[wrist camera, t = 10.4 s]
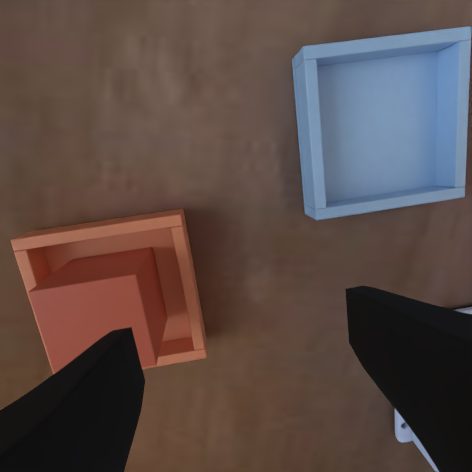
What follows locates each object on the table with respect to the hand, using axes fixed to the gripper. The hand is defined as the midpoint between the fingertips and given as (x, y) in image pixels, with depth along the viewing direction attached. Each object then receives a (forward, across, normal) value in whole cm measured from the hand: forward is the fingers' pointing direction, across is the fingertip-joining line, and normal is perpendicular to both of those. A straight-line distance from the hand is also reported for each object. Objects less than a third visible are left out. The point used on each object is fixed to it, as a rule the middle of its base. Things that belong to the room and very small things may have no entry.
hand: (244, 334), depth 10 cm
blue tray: (+8, -9, -6) cm, 14 cm away
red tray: (+8, +6, +1) cm, 10 cm away
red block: (+8, +6, 0) cm, 10 cm away
